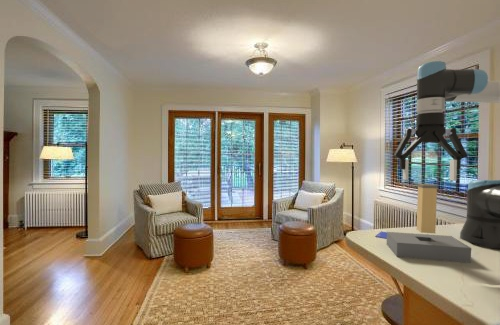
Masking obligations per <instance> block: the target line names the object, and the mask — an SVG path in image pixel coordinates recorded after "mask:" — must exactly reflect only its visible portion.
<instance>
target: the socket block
mask: <svg viewBox="0 0 500 325" xmlns="http://www.w3.org/2000/svg"><path fill="white" fill-rule="evenodd" d="M386 245H387V247H388V248H389V249H390V250H391V252H392V253H393V255H394V256H396V258H406V259H418V260H419V259H420V260H427V261H428V260H431V261H440V262H443V261H444V262H453V263H454V262H456V263H467V264H471V261H472V247H470V246H468V245H467V244H465V243H464V242H462V241H460V240H459V239H457V238H455V237H454V236H452V235H441V234H439V235H438V234H429V233H413V232H412V233H409V232H395V231H387V239H386Z"/></svg>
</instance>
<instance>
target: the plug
mask: <svg viewBox="0 0 500 325" xmlns="http://www.w3.org/2000/svg"><path fill="white" fill-rule="evenodd" d="M438 187H439V186H438V185H437V184H430V183H417V202H416V203H417V204H416V205H417V208H416V230H417V231H418V232H420V234H436V228H437V227H436V226H437V224H436V223H437V221H436V220H437V203H438V202H437V200H438V199H437V198H438V197H437V196H438Z"/></svg>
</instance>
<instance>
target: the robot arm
mask: <svg viewBox="0 0 500 325" xmlns="http://www.w3.org/2000/svg"><path fill="white" fill-rule="evenodd" d="M446 65H447V64H446V62H445V61H441V60H434V61H428V62H425V63H423V64H421V65H420V66H418V68H417V75H416V109H415V110H416V117H415V118H416V123H415V129H413V128H405V130H404V135H403V137H402V139H401V140H400V142H399V145H398V146H397V148H396V150H395V152H394V154H393V157H394V158H397V159H399V169H400V170H402V180H404V181H408V180H409V159H407V158H408V157H409V156H410V155H411V154H412V152H413V151H414V150H415V149H416V148H417V147H418V146H419V145H420V144H422V143H423V144H424V143H437V144H439V145H440V146H441V148H442V149H444V151H446V153H448V155H449V156H450V157H451V158H452V159H449V174H448V175H449V178H448V179H449V180H448V181H454V182H457V171H459V170H460V168H461V160H462V159H464V158H467V157H468V156H469V155H468V153H467V151H466V149H465V148H464V146H463V144H462V142H461V140H460V138H459V136H458V134H457V128H456V127H449V128H445V116H446V114H445V112H444V111H445V110H446V109H445V108H446V102H451V103H453V102H454V103H455V102H458V103H461V102H462V103H484V104H485V103H491V104H492V103H494V104H500V80H488V79H489V76H488V75H489V74H488V73H487V72H486V71H485V70H483V69H478V68H469V69H468V68H467V69H464V68H463V69H451V68H450V69H448V68H447V66H446ZM414 134H415V136H416V138H415V140H413V142H412V143H411V144H410V145H409V146H408V147H407V148H406V146H407V144H408V142H409V140H410V139H411V137H412V136H413V135H414ZM445 134H446V135H447V136H448V138H449V140H450V141H451V143H452V145H453V147H452V146H451V145H450V144H449V142H448V141H447V140H446V139H445V137H444V136H445ZM405 148H406V149H405ZM404 149H405V150H404ZM466 192H467V196H466V220H465V221H464V223H463V226H462V228H461V230H460V233H459V239H460V240H463V241H465V242H467V243H469V244H471V245H473V246H478V247H482V248H487V249H488V248H489V249H495V250H496V249H497V250H500V179H490V180H489V179H483V180H481V179H479V180H471V181H469V182H468V185H467V190H466Z"/></svg>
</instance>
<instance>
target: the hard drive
mask: <svg viewBox="0 0 500 325" xmlns="http://www.w3.org/2000/svg"><path fill="white" fill-rule="evenodd" d="M387 232H388V231H387ZM387 232H386V231H380V232H378V233H377V234H376V235H375V238H379V239H384V240H387Z"/></svg>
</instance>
